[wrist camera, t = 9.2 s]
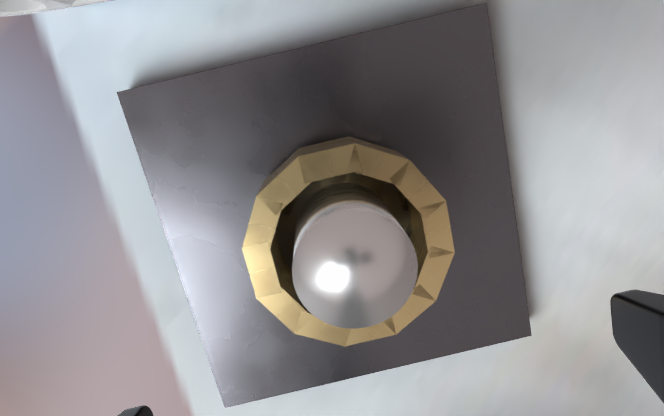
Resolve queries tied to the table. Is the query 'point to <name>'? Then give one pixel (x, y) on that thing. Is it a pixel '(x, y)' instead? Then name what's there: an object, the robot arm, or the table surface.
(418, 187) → the ring
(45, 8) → the wrench
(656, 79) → the table surface
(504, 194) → the piston stand
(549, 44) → the table surface
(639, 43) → the table surface
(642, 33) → the table surface
